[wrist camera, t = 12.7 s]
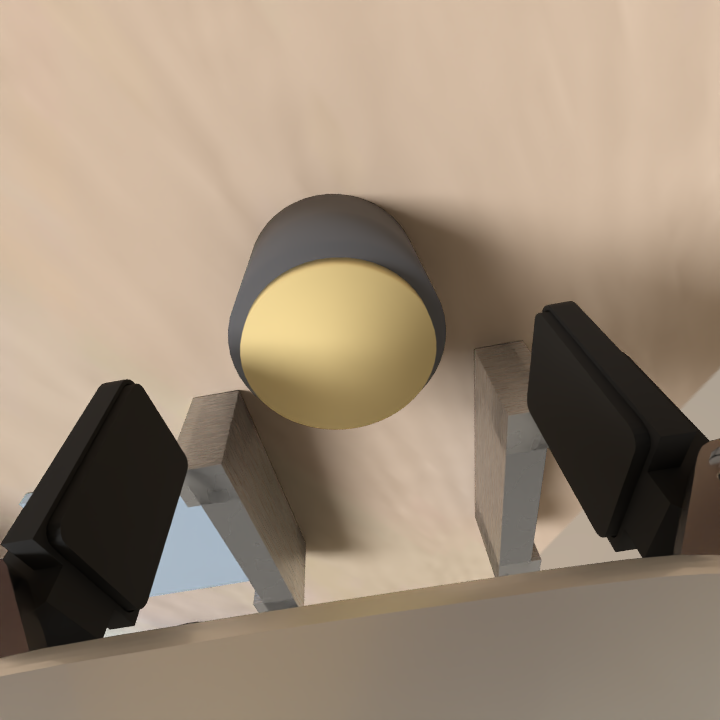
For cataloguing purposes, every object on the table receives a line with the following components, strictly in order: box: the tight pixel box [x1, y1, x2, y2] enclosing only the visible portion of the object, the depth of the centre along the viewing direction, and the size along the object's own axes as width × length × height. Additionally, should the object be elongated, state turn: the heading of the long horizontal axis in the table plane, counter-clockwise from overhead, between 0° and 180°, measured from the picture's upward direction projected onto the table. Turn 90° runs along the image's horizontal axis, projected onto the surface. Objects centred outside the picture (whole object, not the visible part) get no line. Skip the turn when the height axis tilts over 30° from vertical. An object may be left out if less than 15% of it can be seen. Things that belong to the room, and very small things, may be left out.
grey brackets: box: [177, 341, 549, 613], centre depth 20 cm, size 12×14×4 cm
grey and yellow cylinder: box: [228, 194, 446, 430], centre depth 13 cm, size 6×6×5 cm
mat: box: [19, 493, 249, 597], centre depth 23 cm, size 10×10×1 cm
